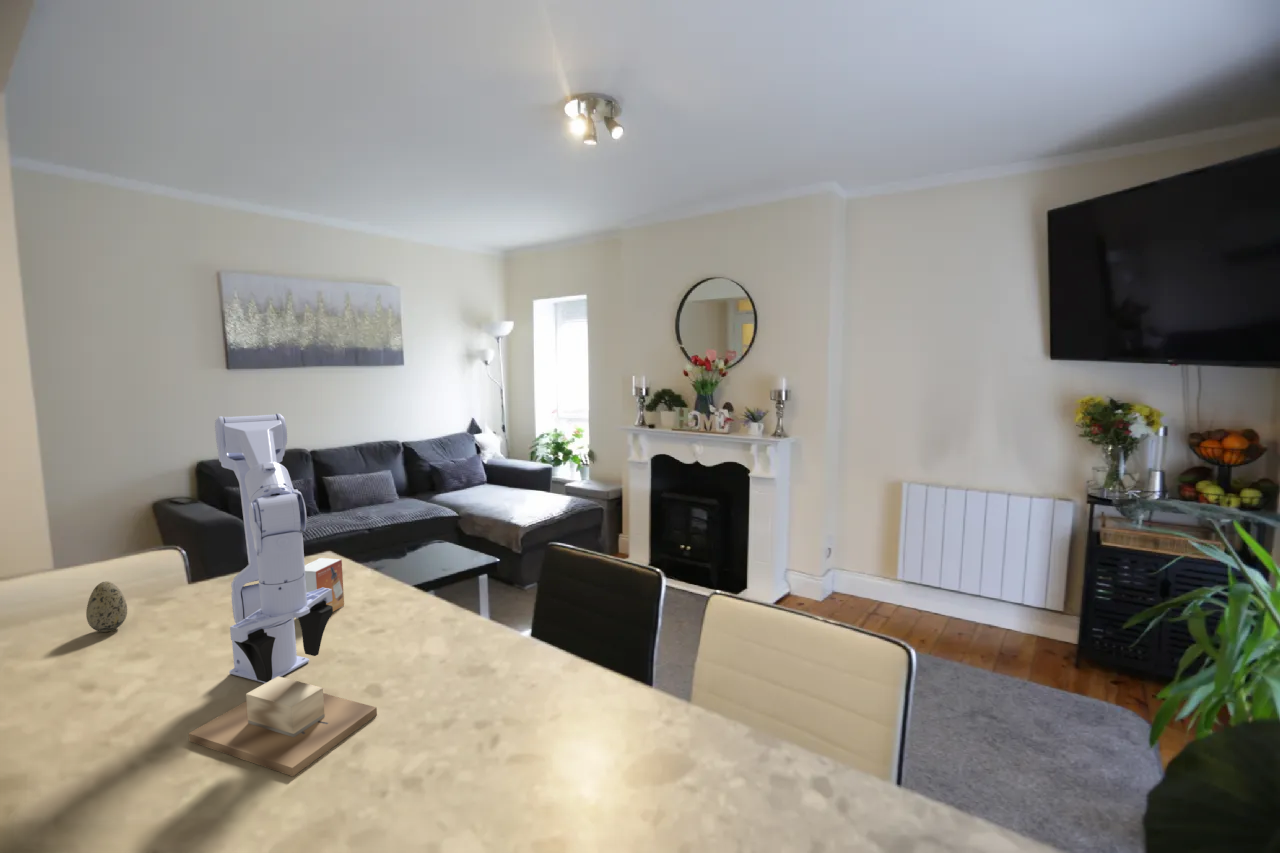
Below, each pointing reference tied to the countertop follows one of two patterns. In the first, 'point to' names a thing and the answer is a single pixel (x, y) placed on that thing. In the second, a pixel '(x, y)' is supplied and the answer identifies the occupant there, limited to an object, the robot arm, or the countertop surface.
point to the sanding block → (285, 706)
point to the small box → (326, 579)
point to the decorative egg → (106, 607)
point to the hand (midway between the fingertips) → (289, 666)
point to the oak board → (283, 735)
